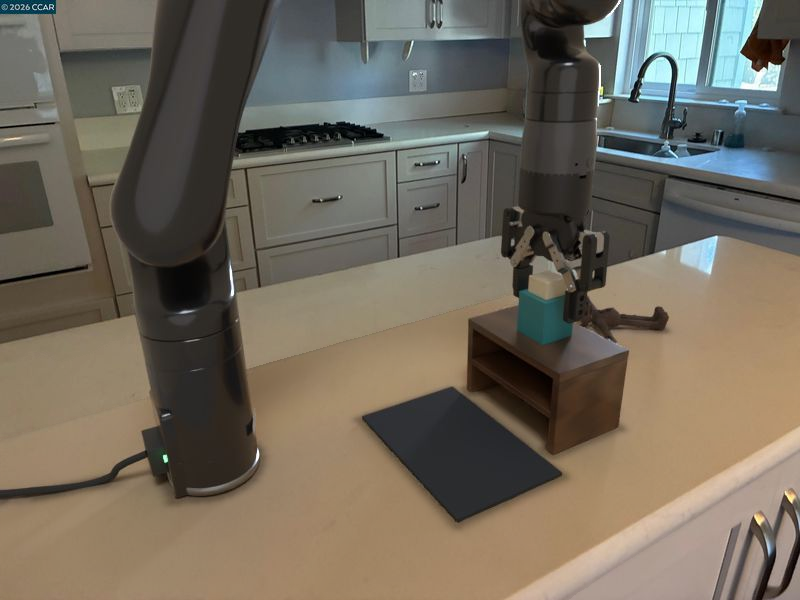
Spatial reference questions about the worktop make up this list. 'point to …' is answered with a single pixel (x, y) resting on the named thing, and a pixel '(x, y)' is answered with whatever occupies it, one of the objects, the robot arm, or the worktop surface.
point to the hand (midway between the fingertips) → (546, 308)
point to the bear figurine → (620, 319)
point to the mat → (460, 452)
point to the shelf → (551, 375)
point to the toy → (543, 308)
